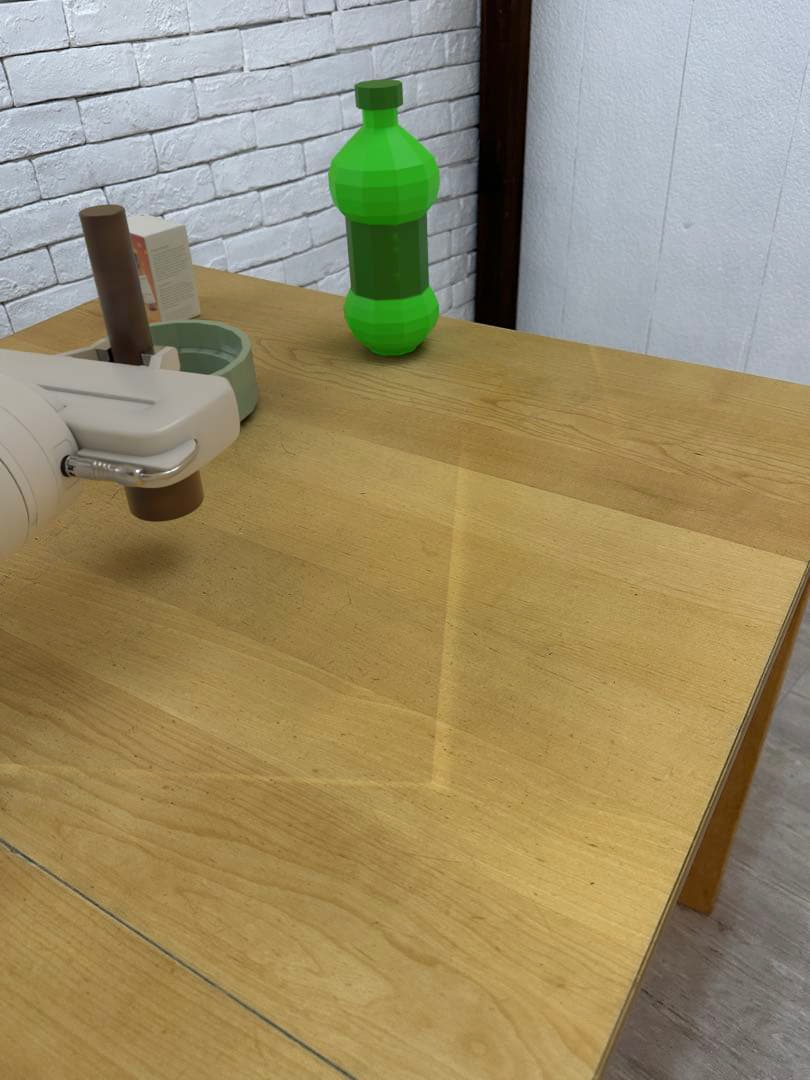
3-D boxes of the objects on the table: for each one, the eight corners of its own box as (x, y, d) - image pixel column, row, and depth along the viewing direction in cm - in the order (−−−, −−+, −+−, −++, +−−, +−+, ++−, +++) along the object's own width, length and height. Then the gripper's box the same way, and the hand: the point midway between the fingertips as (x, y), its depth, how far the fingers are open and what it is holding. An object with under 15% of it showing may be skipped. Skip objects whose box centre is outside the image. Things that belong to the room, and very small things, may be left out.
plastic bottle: (347, 328, 100) (325, 76, 85) (443, 325, 99) (437, 71, 85) (339, 367, 92) (312, 96, 77) (443, 364, 91) (436, 91, 76)
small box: (123, 314, 106) (101, 223, 100) (163, 300, 109) (144, 211, 103) (162, 330, 102) (142, 236, 95) (203, 315, 105) (186, 223, 99)
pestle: (118, 520, 62) (39, 223, 51) (144, 481, 66) (77, 199, 55) (191, 523, 61) (127, 222, 50) (213, 483, 66) (159, 197, 54)
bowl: (64, 453, 80) (46, 392, 76) (125, 375, 92) (111, 319, 89) (237, 455, 78) (226, 392, 75) (275, 375, 91) (267, 318, 87)
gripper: (148, 431, 43) (279, 321, 53) (-171, 383, 49) (3, 293, 60) (174, 539, 47) (292, 417, 57) (-126, 481, 53) (30, 380, 63)
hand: (142, 353), depth 58 cm, fingers closed on pestle, 2 cm apart
